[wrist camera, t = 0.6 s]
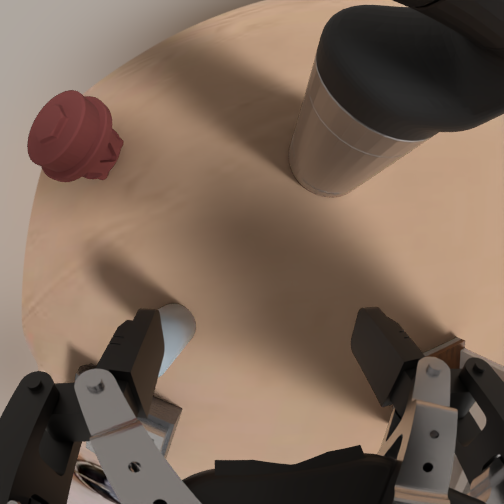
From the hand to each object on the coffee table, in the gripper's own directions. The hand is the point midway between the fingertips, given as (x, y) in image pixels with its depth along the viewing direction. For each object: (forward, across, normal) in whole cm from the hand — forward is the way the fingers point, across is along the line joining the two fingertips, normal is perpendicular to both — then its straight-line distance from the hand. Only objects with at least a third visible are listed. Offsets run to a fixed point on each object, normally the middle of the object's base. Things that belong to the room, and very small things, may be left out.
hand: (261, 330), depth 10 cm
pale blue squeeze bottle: (+18, +8, +12) cm, 23 cm away
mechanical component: (+26, +18, -7) cm, 32 cm away
